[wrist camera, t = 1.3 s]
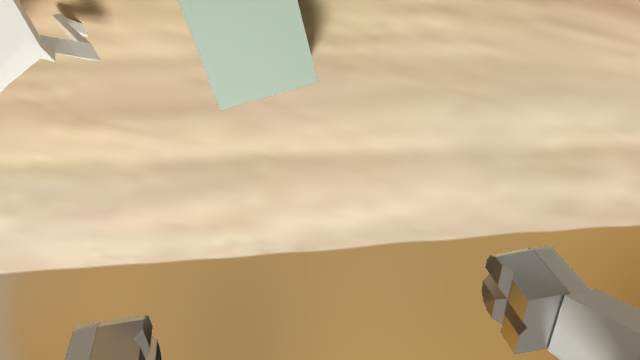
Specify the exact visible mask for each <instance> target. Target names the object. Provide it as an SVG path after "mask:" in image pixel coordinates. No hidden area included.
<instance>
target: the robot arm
mask: <svg viewBox="0 0 640 360" xmlns="http://www.w3.org/2000/svg"><path fill="white" fill-rule="evenodd" d="M485 268H486V269H487V270H488V272H489V275H488V276H487V277H486V278H485V279H484V280H483V285H482V296H483V302H484V304H485V307H486V310H487V311H488V313H489V314H490V316H491V318H492V319H494V320H496V321H497V322H500V323H501V324H502V327H501V334H502V336H503V337H504V339H505V340H506V342H507V344H508V345H509V347H510V348H511V350H512V352H513V353H514V354H520V353H526V352H531V351H537V350H543V349H548V351H549V352H550V353H552V354H553V355H555V356H556V357H558V358H559V359H560V360H640V309H639V308H637V307H635V306H632V305H630V304H628V303H626V302H624V301H622V300H619V299H617V298H615V297H613V296H611V295H608V294H606V293H604V292H602V291H600V290H598V289H594V290H591V289H590V288H589V287H588V286H587V285H586V284H585V283H584V282H583V281H582V279H581V278H580V277H579V276H578V275H577V274H576V273H575V272H574V270H573V269H572V268H570V266H569V265H568V264H567V263H566V262H565V261H564V259H563V258H562V257H561V256H560V255H559V254H558V253H557V252H556V251H555V249H554V248H553V247H551V246H549V245H544V246H539V247H533V248H528V249H522V250H516V251H511V252H506V253H500V254H495V255H490V256H489V258H488V259H487V262H486V267H485ZM152 327H153V326H152V323H151V321H150V318H149V316H147V315H144V316H137V317H130V318H124V319H117V320H110V321H103V322H100V323H93V324H86V325H79V326H77V327H76V328H75V330H74V331H73V333H72V337H71V340H70V343H69V347H68V351H67V354H66V357H65V360H162V358H161V352H160V347H159V344H158V340H157V339H156V338H154V337H152Z"/></svg>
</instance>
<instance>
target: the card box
mask: <svg viewBox="0 0 640 360" xmlns="http://www.w3.org/2000/svg"><path fill="white" fill-rule="evenodd" d="M178 1H179V4H180V7H181V9H182V12H183V14H184V17H185V20H186V22H187V25H188V27H189V30H190V33H191V35H192V38H193V40H194V43H195V45H196V48H197V51H198V53H199V56H200V58H201V61H202V64H203V66H204V69H205V71H206V74H207V76H208V79H209V82H210V84H211V87H212V89H213V92H214V95H215V97H216V100H217V102H218V105H219V108H220V110H222V109H226V108H230V107H233V106H237V105H240V104H244V103H247V102H251V101H254V100H258V99H261V98H265V97H268V96H272V95H275V94H279V93H282V92H286V91H289V90H293V89H296V88H300V87H304V86H307V85H311V84H314V83H318V80H317V76H316V72H315V68H314V64H313V60H312V56H311V52H310V48H309V44H308V40H307V36H306V32H305V28H304V24H303V20H302V16H301V12H300V8H299V4H298V0H178Z"/></svg>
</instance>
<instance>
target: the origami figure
mask: <svg viewBox="0 0 640 360" xmlns="http://www.w3.org/2000/svg"><path fill="white" fill-rule="evenodd" d="M53 17H54V19H55V20H56V22H57V24H58V26H59V27H60V28H61V29H62V30H63V31H64V32H65V33H66V34H67V35H68V36H69V37H70V38H71V40H65V39H59V38H54V37H48V36H42V35H39V34H38V32H37V30H36V29H35V27H34V25H33V24H32V22H31V20H30V18H29V17H28V15H27V13H26V11H25V10H24V8H23V6H22V4H21V3H20V1H19V0H0V92H1V91H2V90H3V89H4V88H5V87H6V86H7V85H8V84H9V83H11V82H12V81H13V80H14V79H16V78H17V77H18V76H19V75H20V74H22V73H23V72H24V71H25V70H27V69H28V68H29V67H30V66H31V65H33V64H34V63H35V62H36V61H38V60H39V59H40V58H41V59H45V60H50V61H54V62H55V53H58V54H62V55H67V56H72V57H77V58H82V59H87V60H100V58H99V56H98V55H97V53H96V51H95V50H94V48H93V46H92V45H91V43H90V42H89V41H87V40H86V39H85V38H84V37H89V35H88V33H87V31H86V29H85V27H84V26H83V24H81V23H79V22H76V21H74V20H71V19H69V18H67V17H64V16H62V15H59V14H55V15H53Z"/></svg>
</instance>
